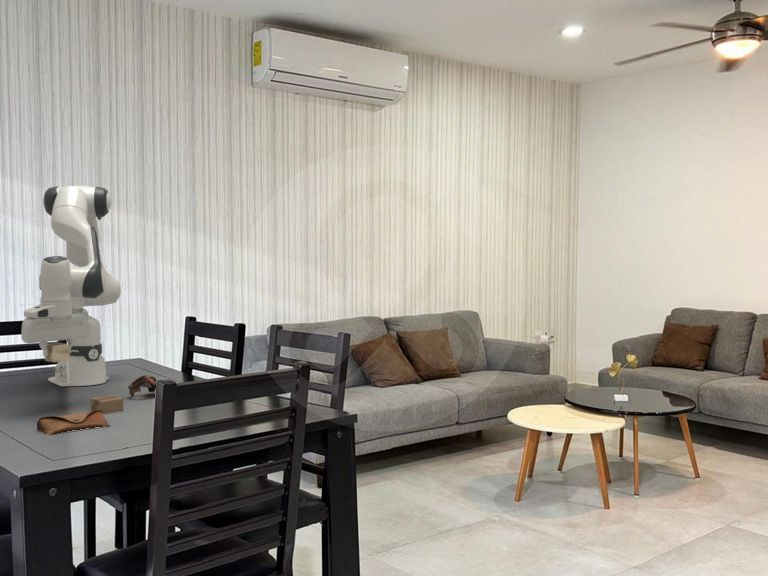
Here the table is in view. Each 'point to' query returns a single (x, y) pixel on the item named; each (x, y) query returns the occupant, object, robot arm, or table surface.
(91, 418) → the sunglasses case
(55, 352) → the beech block
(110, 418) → the table surface
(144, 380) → the brown piece
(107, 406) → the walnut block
